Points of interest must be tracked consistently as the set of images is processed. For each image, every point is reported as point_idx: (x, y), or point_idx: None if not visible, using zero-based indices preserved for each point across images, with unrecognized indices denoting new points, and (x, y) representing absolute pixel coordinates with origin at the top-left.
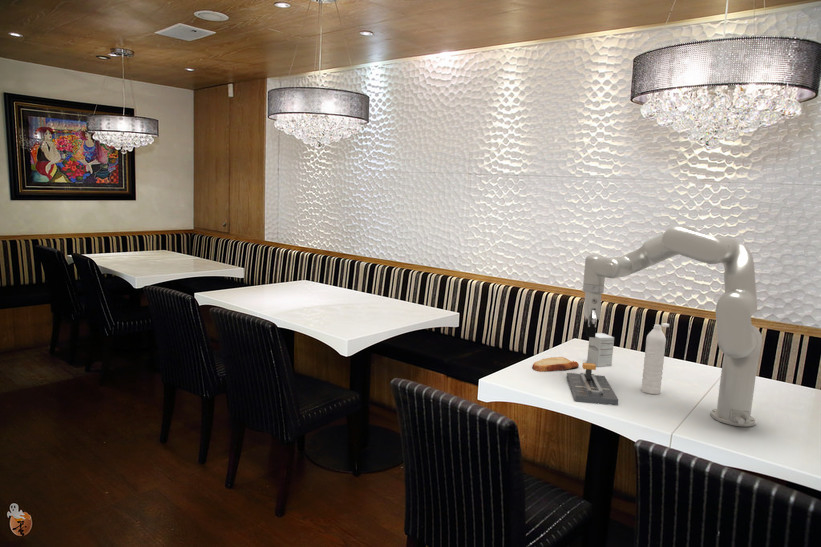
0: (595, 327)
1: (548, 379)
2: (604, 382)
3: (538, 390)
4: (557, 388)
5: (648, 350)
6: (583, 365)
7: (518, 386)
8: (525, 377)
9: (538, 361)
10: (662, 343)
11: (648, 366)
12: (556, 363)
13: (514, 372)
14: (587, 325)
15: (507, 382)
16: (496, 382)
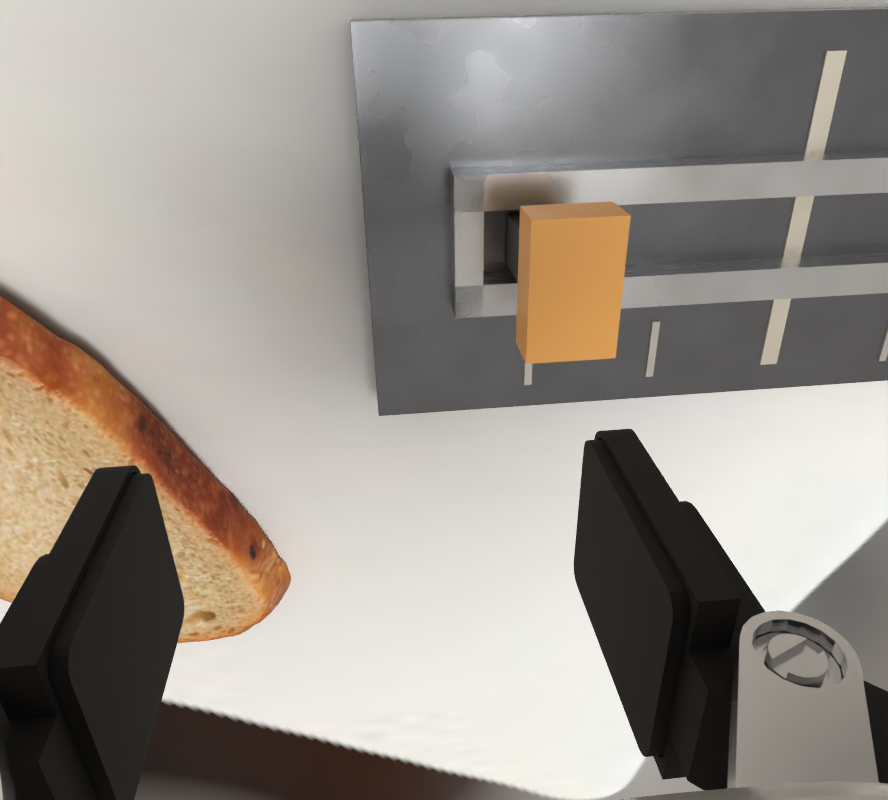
0: (732, 604)
1: (474, 517)
2: (607, 65)
3: (736, 565)
4: (678, 459)
5: None
6: (599, 353)
7: None
8: (475, 645)
9: None
10: None
11: None
12: (70, 490)
13: (383, 706)
14: (129, 694)
15: (609, 715)
16: (622, 757)
